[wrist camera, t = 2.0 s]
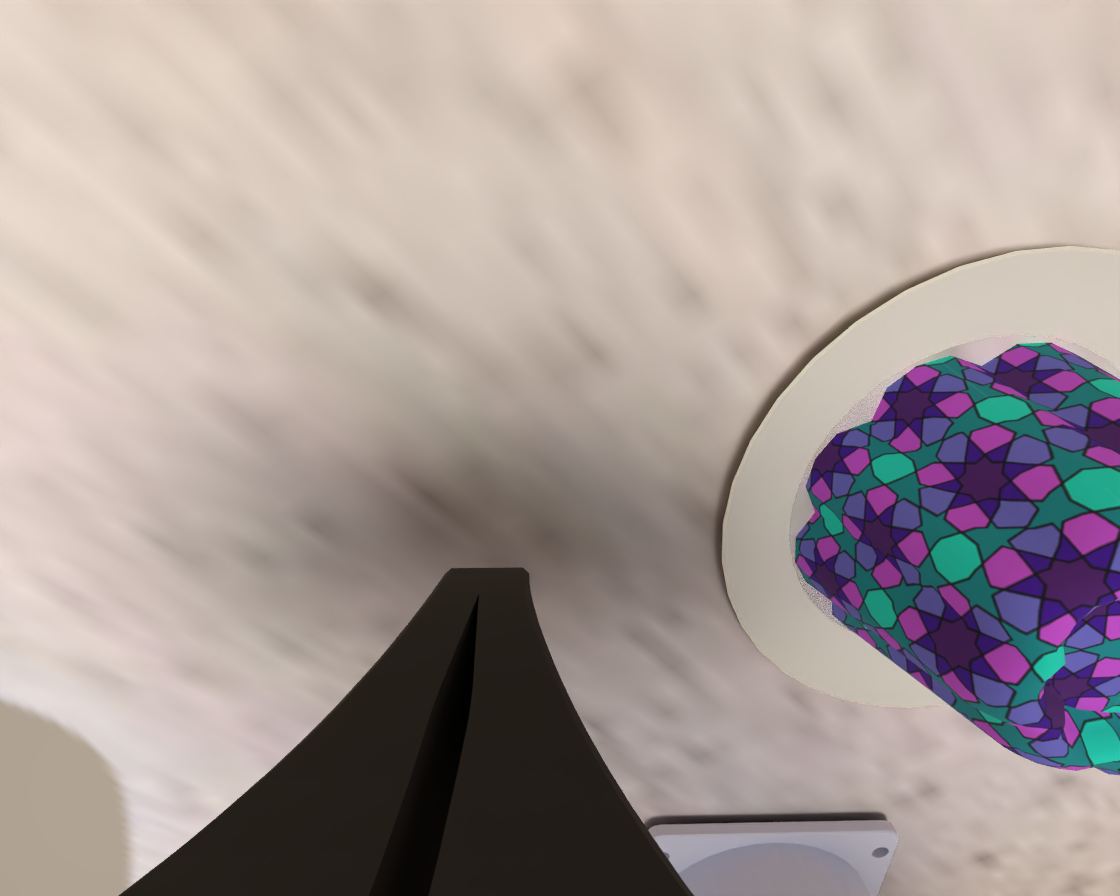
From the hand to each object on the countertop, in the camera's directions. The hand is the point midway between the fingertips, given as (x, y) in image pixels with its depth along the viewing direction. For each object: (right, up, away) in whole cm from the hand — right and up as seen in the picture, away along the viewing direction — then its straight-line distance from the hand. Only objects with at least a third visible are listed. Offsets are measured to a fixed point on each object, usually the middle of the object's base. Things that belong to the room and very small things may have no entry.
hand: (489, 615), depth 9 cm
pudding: (+11, +2, +4) cm, 12 cm away
